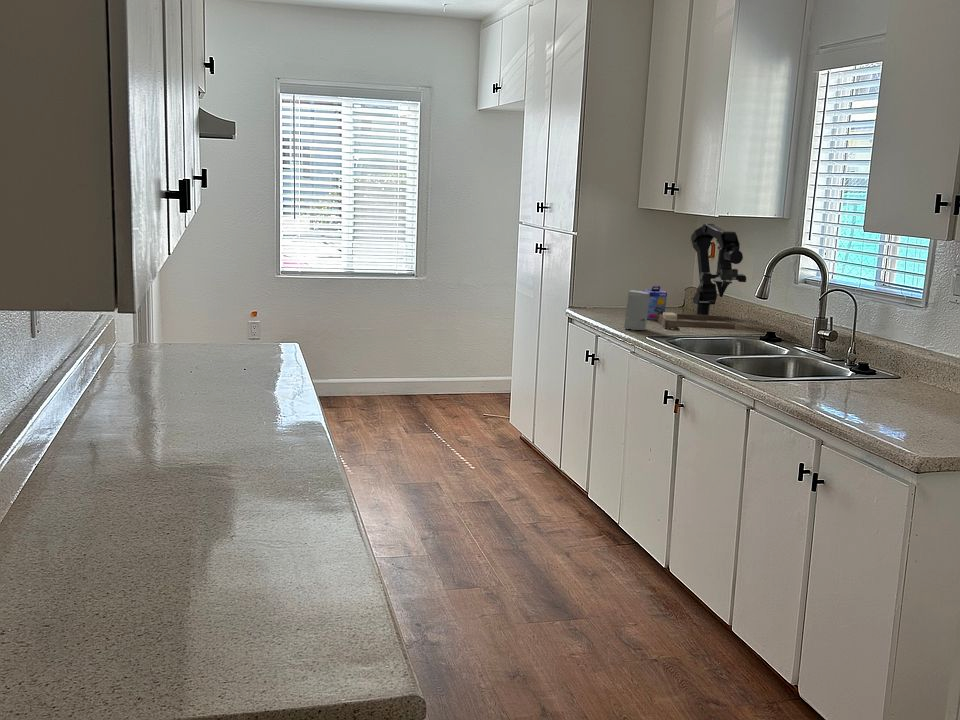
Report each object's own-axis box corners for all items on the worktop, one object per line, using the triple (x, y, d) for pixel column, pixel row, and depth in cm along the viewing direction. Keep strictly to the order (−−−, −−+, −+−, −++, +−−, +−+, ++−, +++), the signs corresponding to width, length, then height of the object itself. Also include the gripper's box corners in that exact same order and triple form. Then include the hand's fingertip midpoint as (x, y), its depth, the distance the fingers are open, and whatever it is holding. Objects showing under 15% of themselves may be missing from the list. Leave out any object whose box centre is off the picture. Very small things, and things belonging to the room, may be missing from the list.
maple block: (662, 320, 399) (663, 312, 398) (673, 320, 399) (674, 312, 398) (664, 322, 394) (665, 314, 393) (676, 323, 394) (677, 315, 393)
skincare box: (623, 329, 382) (627, 291, 379) (626, 326, 389) (629, 289, 386) (644, 331, 380) (648, 293, 377) (646, 328, 387) (650, 290, 383)
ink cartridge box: (643, 319, 408) (646, 286, 405) (639, 317, 414) (642, 284, 410) (665, 319, 410) (668, 286, 407) (660, 317, 416) (663, 284, 412)
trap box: (657, 320, 406) (657, 312, 405) (723, 323, 406) (724, 315, 406) (665, 328, 389) (665, 320, 388) (734, 331, 389) (735, 323, 388)
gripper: (706, 262, 391) (702, 298, 395) (751, 264, 391) (747, 301, 394) (701, 258, 402) (697, 294, 406) (745, 261, 402) (740, 296, 405)
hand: (720, 296), depth 402 cm, fingers closed
